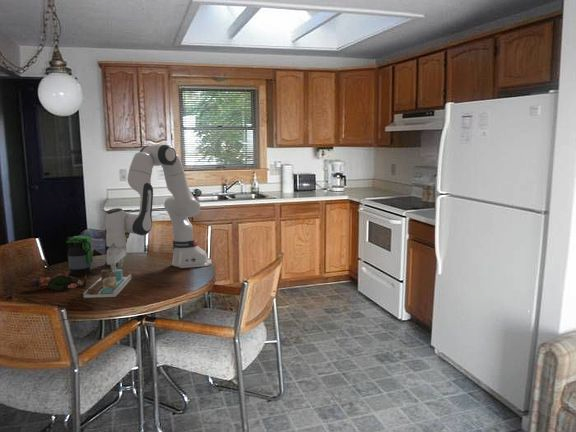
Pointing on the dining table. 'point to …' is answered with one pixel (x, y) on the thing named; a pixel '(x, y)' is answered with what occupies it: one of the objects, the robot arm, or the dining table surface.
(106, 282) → the maple cube
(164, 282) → the dining table surface
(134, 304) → the dining table surface
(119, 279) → the strip teal
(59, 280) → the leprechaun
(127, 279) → the lane board
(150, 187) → the robot arm
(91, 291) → the strip walnut
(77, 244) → the potted plant
